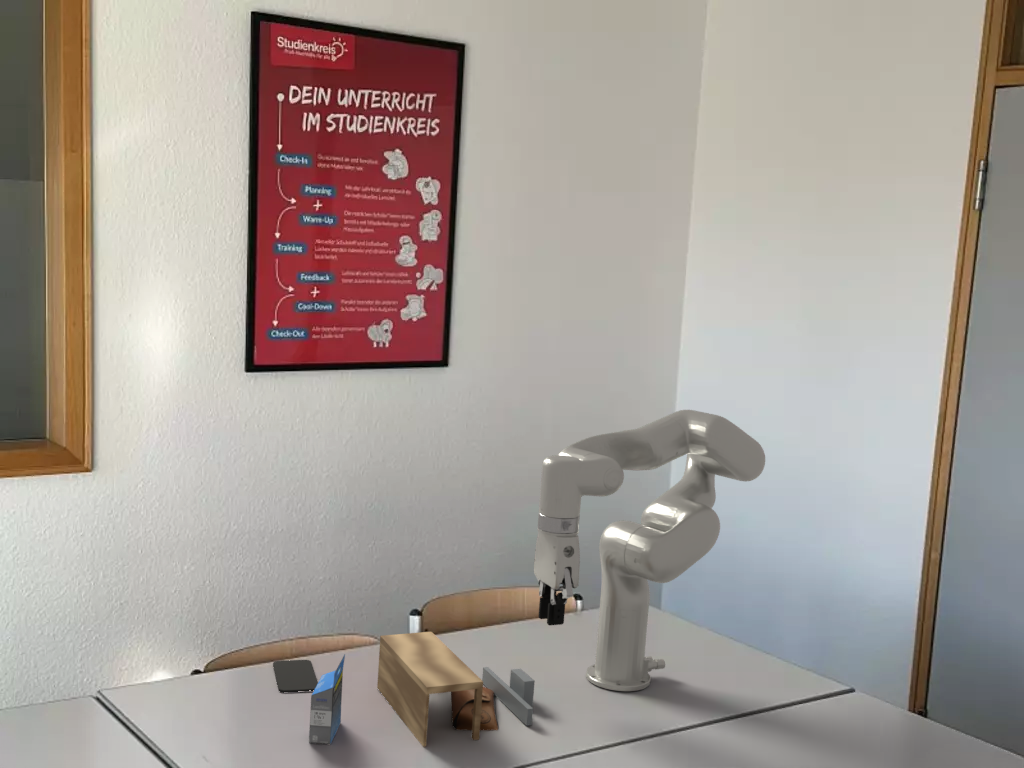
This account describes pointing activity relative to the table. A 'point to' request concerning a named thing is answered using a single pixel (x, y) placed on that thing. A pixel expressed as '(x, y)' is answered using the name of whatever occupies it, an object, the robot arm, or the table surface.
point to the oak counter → (423, 678)
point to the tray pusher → (513, 692)
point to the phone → (295, 675)
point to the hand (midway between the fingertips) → (550, 620)
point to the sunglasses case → (464, 710)
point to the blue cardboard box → (326, 707)
